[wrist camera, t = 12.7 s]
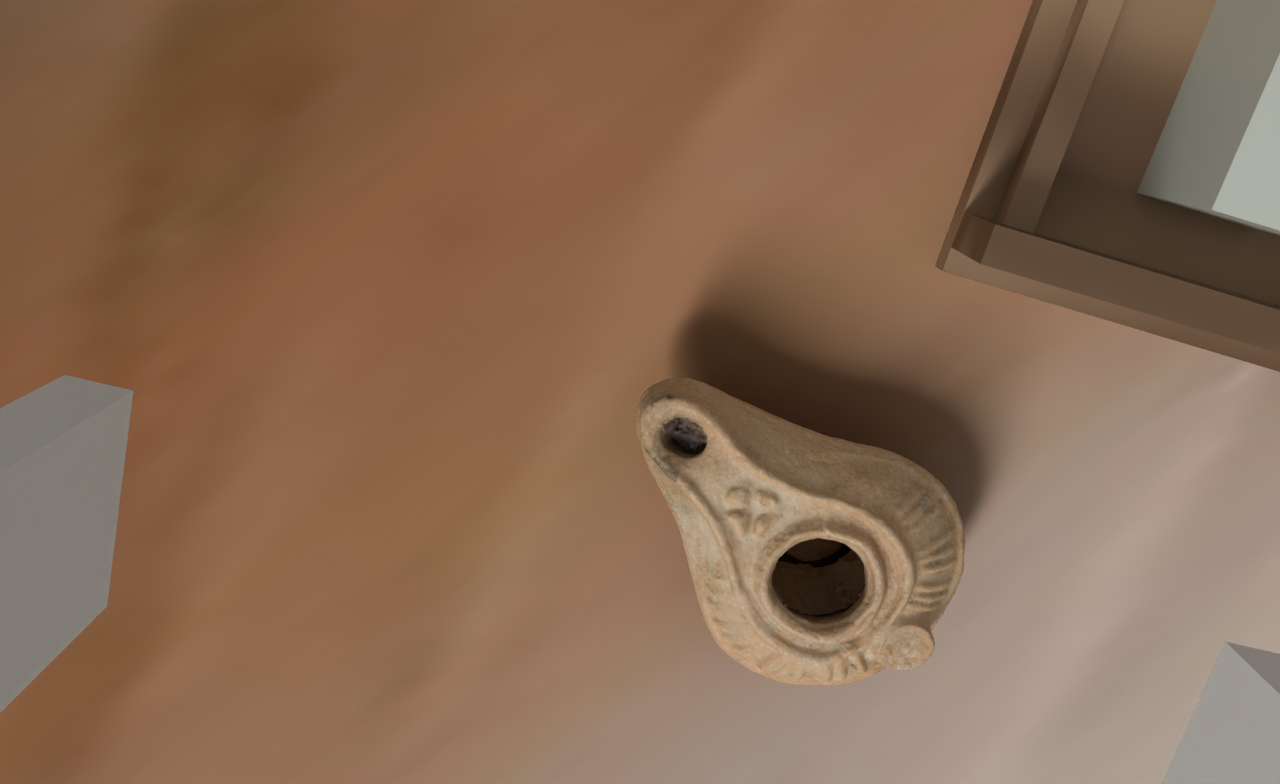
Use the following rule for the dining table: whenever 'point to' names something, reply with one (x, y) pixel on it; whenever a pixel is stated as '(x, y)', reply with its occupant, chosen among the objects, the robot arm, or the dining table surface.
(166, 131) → the dining table surface
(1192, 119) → the greenware bar
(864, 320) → the dining table surface
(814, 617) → the pottery oil lamp
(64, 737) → the dining table surface
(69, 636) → the robot arm
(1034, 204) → the cradle rack
